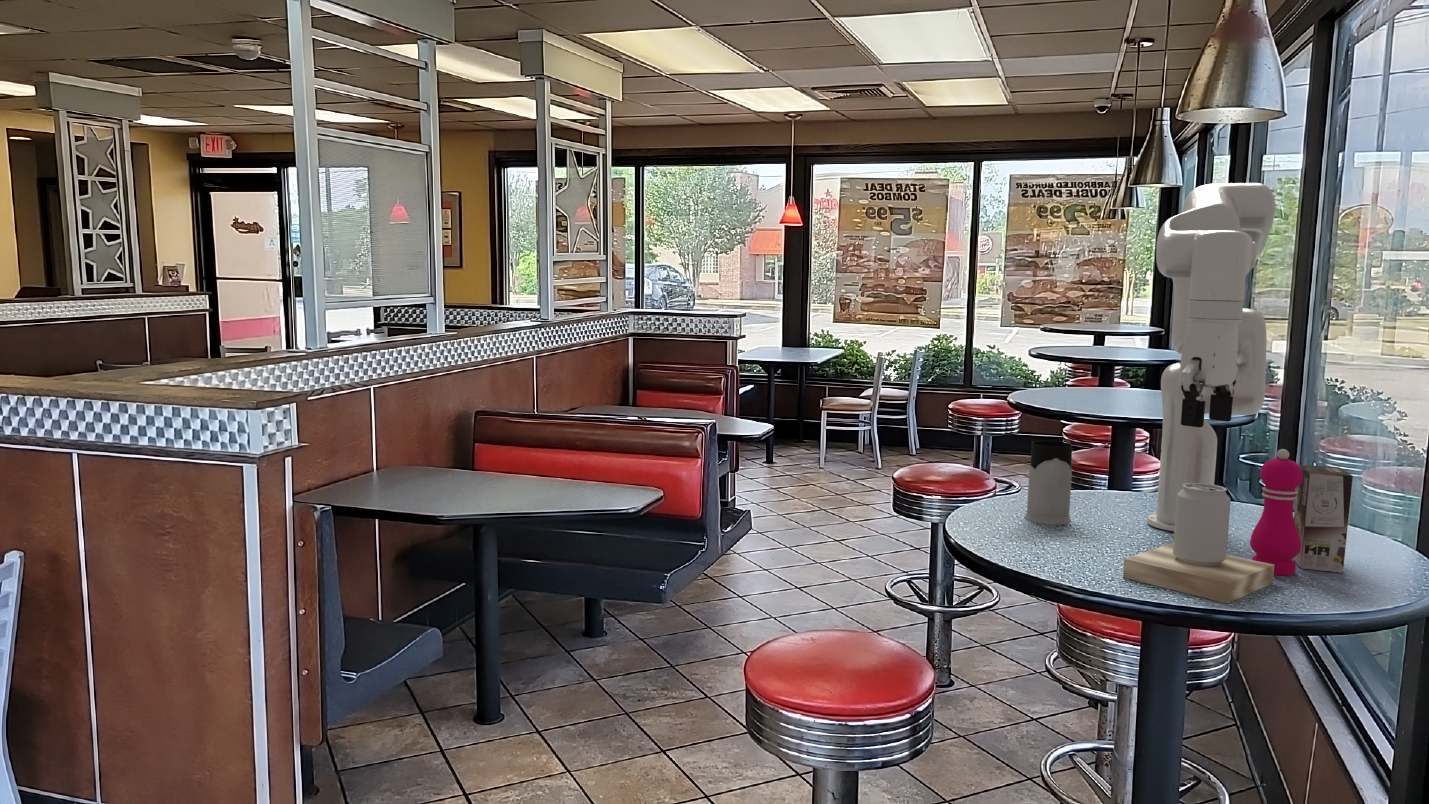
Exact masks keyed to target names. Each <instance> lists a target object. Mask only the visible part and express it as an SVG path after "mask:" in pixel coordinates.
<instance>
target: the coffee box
mask: <svg viewBox="0 0 1429 804" xmlns="http://www.w3.org/2000/svg"><path fill="white" fill-rule="evenodd" d="M1298 465H1299V466H1300V467H1301V469H1302V472H1303V479H1302V482H1301V483H1300V485H1298V486H1297V487H1296V489H1295V490H1297V491H1298V493H1297V499H1296V500H1294V510H1293V518H1294V523H1295V526H1296V528H1297V531H1298V533H1299V536H1300V541H1301V550H1300V552H1299V554H1298V555H1296V556H1295V557H1294V558H1293V559H1292V560H1293V561H1294V562H1295V563H1296V565H1297V566H1299V568H1300V569H1302V570H1311V571H1322V572H1329V571H1331V572H1330V573H1337V572H1338V573H1337V574H1342V573H1343V574H1344V567H1345V565H1344V564H1345V557H1346V556H1345V555H1346V546H1347V536H1348V535H1347V534H1348V526H1349V517H1350V506H1351V499H1352V498H1351V497H1352V490H1353V489H1352V487H1353V478H1354V476H1353V475H1352V474H1351V473H1349V472H1347V471H1346V470H1344V469H1342V468H1341V467H1340V466H1327V465H1304V464H1303V465H1301V464H1298Z"/></svg>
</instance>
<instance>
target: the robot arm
mask: <svg viewBox="0 0 1429 804" xmlns="http://www.w3.org/2000/svg"><path fill="white" fill-rule="evenodd" d="M1182 210H1183V211H1182V213H1179V214H1177V215H1174V216H1172V217H1170V218H1168V219H1166V221H1165V222H1164V223H1163V224H1162V226H1161V227H1160V229H1159V232H1158V235H1157V239H1156V248H1155V249H1156V252H1155V253H1156V254H1155V255H1156V257H1155V258H1156V259H1155V260H1156V266H1157V269H1158V271H1159V273H1161V275H1163V277H1166V278H1170V279H1172V283H1173V284H1172V285H1173V291H1174V292H1173V307H1172V308H1173V309H1172V312H1173V313H1172V325H1171V327H1172V328H1171V329H1172V331H1171V332H1172V333H1171V335H1172V339H1171V340H1172V346H1173V349H1174V351H1175V352H1176V353H1177V354H1179V355H1181V357H1180V362H1176V363H1172V364H1170V365H1168V366H1167V367H1166V368H1165V369H1164V371H1163V372H1162V374H1161V379H1160V391H1161V395H1160V396H1161V404H1162V430H1161V431H1162V432H1161V433H1162V434H1161V435H1162V436H1161V447H1160V450H1161V451H1160V463H1159V464H1160V465H1159V476H1158V490H1157V501H1156V502H1157V503H1156V513H1154V514H1150V515H1148V516H1147V521H1146V523H1147V524H1148V525H1150V526H1151V527H1154V528H1157V529H1160V530H1164V531H1169V532H1172V533H1174V531H1175V517H1176V504H1177V493H1179V492H1180V491H1181V490H1182V489H1183V486H1182V485H1183V484H1186V483H1204V484H1213V485H1215V479H1216V477H1215V476H1216V474H1215V473H1216V466H1217V465H1216V464H1217V452H1218V436H1217V433H1216V431H1215V430H1214V428H1213V427H1212V426H1211V424H1210V423H1209V422H1208V421H1207V420H1206V419H1205V415H1208V419H1209V420H1210V421H1217V422H1218V421H1220V422H1227V423H1228V422H1231V421H1232V416H1252V415H1255V414H1257V413H1259V412H1260V410H1261V409H1262V408H1263V405H1264V402H1265V395H1266V381H1267V380H1266V378H1267V377H1266V372H1267V338H1268V337H1267V325H1266V320H1265V318H1264V316H1263V315H1262V313H1261V312H1259V311H1258V310H1255V309H1252V308H1244V303H1245V302H1244V300H1245V288H1246V287H1245V286H1246V277H1247V275H1248V274H1249V273H1250V271H1251V269H1253V268H1254V267H1255V266H1256V265H1255V264H1256V261H1257V256H1259V255H1260V254H1262V252H1263V250H1264V249H1265V248H1266V244H1267V241H1268V238H1269V235H1270V233H1271V229H1272V226H1273V223H1274V219H1275V214H1276V201H1275V196H1274V193H1273V191H1272V190H1271V189H1270V187H1268V186H1267V185H1265V184H1264V183H1261V182H1260V183H1259V182H1245V183H1244V182H1237V183H1236V182H1235V183H1233V182H1230V183H1229V182H1228V183H1226V182H1225V183H1208V184H1203V185H1199V186H1197V187H1195V188H1194V189H1193V190H1190V192H1189V193H1188V194H1187V196H1185V199H1184V202H1183V208H1182Z"/></svg>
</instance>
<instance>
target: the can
mask: <svg viewBox="0 0 1429 804" xmlns="http://www.w3.org/2000/svg"><path fill="white" fill-rule="evenodd" d="M1182 486H1183V489H1182V490H1181V491H1180V492H1179V493H1177V504H1176V517H1175V531H1174V532H1173V543H1174V544H1173V554H1174V555H1175V556H1176V557H1177V558H1178V560H1180V561H1181V562H1184V563H1187V564H1191V565H1197V566H1217V565H1219V564H1220V563H1221V562H1223V561H1224V560H1226V555H1227V553H1228V552H1227V550H1228V537H1229V526H1230V512H1231V504H1232V503H1231V501H1232V500H1231V497H1230V496H1229V495H1228V494H1227V491H1228V490H1227V488H1226V487H1224V486H1221V485H1217V484H1214V485H1213V484H1204V483H1186V484H1183V485H1182Z"/></svg>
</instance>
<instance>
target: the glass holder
mask: <svg viewBox="0 0 1429 804" xmlns="http://www.w3.org/2000/svg"><path fill="white" fill-rule="evenodd" d="M1072 456H1073V444H1072V443H1069V442H1064V441H1056V440H1036V441H1032V442H1031V452H1030V465H1029V468H1028V472H1029V474H1028V485H1027V486H1028V488H1027V489H1028V490H1027V491H1028V492H1027V502H1026V503H1027V505H1026V506H1027V508H1026V512H1025V515H1024V519H1025V520H1026V521H1028V522H1031V523H1035V524H1041V525H1049V526H1050V525H1052V526H1059V525H1060V526H1061V525H1062V524H1064V525H1069V524H1071V523H1072V519H1071V517H1070V507H1071V506H1070V505H1071V490H1072V477H1073V476H1072V475H1073V473H1072V472H1073V467H1072V460H1073V459H1072V458H1073V457H1072ZM1070 522H1071V523H1070ZM1068 523H1069V524H1068Z"/></svg>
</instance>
